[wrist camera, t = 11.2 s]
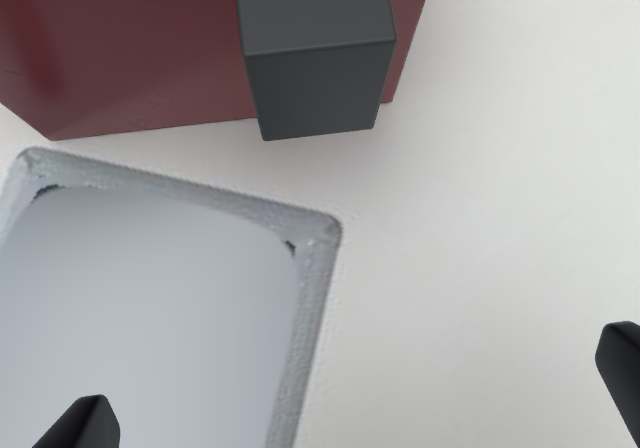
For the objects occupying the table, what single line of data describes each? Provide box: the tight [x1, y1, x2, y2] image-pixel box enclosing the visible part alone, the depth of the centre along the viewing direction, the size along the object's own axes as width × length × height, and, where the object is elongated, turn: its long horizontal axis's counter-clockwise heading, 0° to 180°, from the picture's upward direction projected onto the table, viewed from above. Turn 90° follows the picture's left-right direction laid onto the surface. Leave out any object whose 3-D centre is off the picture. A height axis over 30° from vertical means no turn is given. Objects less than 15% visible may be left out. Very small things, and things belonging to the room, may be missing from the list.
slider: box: [236, 0, 398, 141], centre depth 12 cm, size 4×3×4 cm
